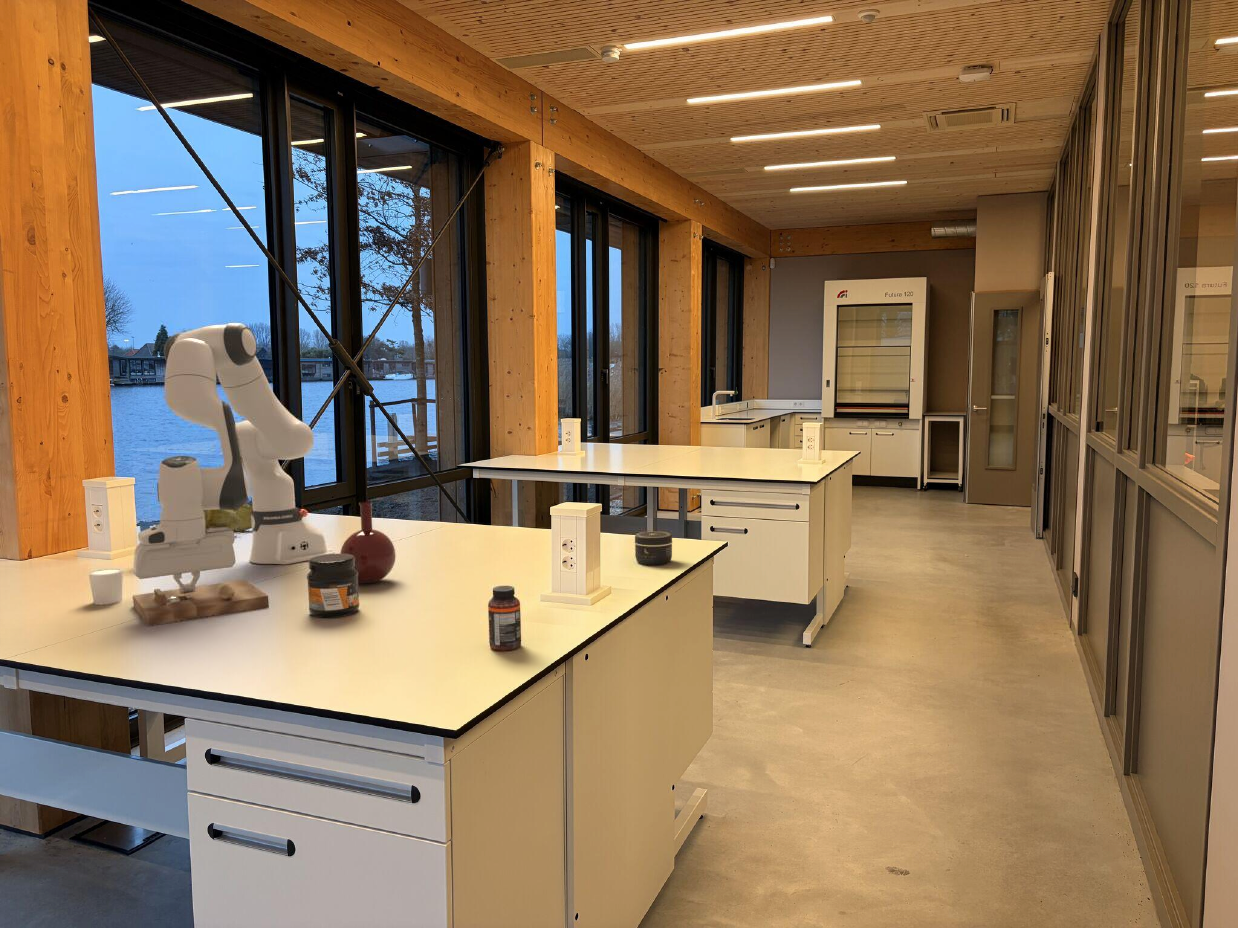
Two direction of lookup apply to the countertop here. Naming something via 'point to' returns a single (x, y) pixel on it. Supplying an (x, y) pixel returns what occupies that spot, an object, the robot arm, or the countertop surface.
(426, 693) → the countertop surface
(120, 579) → the white cup
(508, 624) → the supplement bottle
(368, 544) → the round-bottom flask
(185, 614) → the board
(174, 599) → the steel ball
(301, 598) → the countertop surface
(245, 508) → the crocodile head
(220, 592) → the cork ball
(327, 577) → the supplement container
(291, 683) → the countertop surface
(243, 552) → the countertop surface
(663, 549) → the jar
